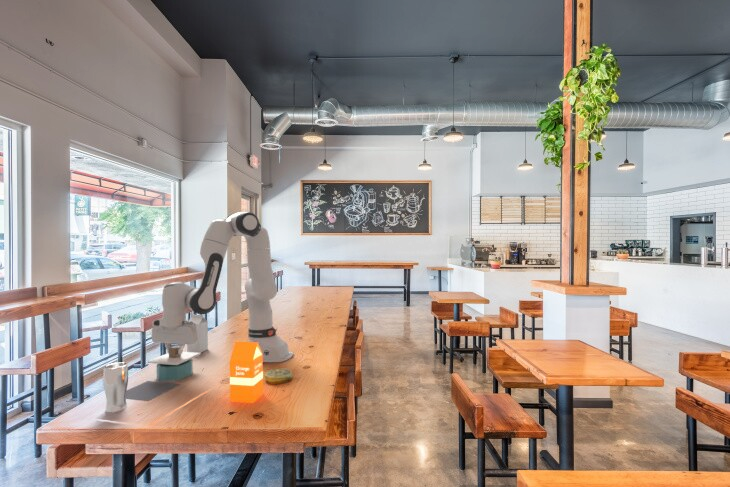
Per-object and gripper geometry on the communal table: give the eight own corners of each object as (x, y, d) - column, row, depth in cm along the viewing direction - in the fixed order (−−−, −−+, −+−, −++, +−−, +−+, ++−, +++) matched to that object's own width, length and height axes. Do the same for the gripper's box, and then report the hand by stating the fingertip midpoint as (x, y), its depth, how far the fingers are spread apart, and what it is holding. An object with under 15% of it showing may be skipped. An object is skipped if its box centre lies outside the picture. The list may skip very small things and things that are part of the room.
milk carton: (199, 353, 186) (198, 316, 186) (187, 352, 188) (186, 316, 188) (208, 349, 193) (207, 313, 193) (196, 349, 195) (195, 313, 195)
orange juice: (253, 403, 126) (252, 345, 126) (229, 401, 128) (229, 344, 128) (263, 394, 134) (262, 339, 134) (241, 392, 135) (240, 338, 136)
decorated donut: (297, 379, 148) (297, 370, 148) (274, 387, 140) (274, 377, 140) (282, 373, 155) (282, 364, 155) (260, 381, 147) (259, 371, 147)
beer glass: (111, 406, 126) (111, 362, 126) (132, 405, 126) (132, 361, 126) (98, 415, 119) (98, 369, 119) (121, 414, 119) (120, 368, 119)
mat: (181, 385, 143) (181, 383, 143) (148, 402, 128) (148, 401, 128) (147, 382, 147) (147, 380, 147) (111, 398, 132) (111, 397, 132)
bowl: (198, 372, 158) (198, 358, 158) (176, 383, 146) (176, 368, 146) (173, 370, 161) (173, 356, 161) (149, 380, 149) (149, 366, 149)
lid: (200, 354, 159) (200, 343, 159) (176, 365, 145) (176, 353, 145) (173, 352, 162) (173, 342, 162) (147, 362, 148) (147, 351, 148)
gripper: (200, 320, 154) (201, 352, 154) (160, 318, 159) (160, 350, 159) (190, 323, 148) (190, 357, 148) (148, 321, 153) (149, 354, 153)
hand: (174, 353), depth 154 cm, fingers closed on lid, 3 cm apart
